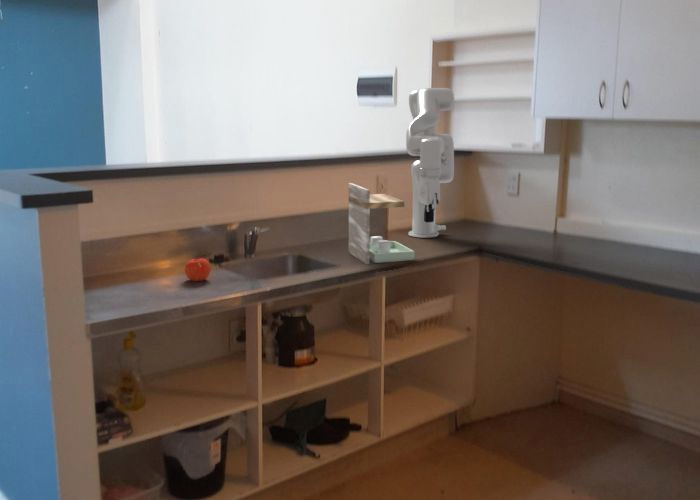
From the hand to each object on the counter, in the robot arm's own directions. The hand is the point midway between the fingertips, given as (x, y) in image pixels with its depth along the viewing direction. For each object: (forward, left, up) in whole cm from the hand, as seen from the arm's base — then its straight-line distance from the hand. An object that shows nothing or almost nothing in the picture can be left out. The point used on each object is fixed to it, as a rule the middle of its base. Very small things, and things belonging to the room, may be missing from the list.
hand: (428, 221), depth 264 cm
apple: (+86, +15, -12) cm, 89 cm away
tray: (+18, +1, -12) cm, 21 cm away
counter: (+21, +1, -12) cm, 24 cm away
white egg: (+20, +5, -11) cm, 23 cm away
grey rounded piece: (+20, -3, -11) cm, 22 cm away
